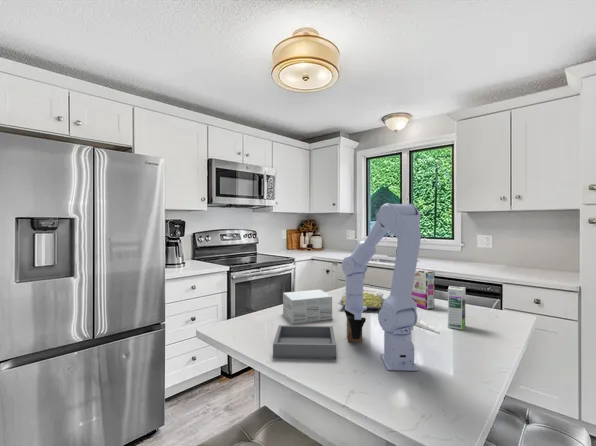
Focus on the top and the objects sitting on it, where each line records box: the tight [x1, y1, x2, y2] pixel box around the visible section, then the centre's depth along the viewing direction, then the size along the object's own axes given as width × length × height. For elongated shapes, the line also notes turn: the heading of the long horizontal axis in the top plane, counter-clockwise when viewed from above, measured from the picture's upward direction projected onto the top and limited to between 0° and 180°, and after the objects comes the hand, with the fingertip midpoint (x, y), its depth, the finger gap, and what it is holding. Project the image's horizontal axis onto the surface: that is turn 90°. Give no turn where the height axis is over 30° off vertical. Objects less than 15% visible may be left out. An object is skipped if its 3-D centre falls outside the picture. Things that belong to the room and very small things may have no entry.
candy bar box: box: [411, 267, 436, 310], centre depth 147 cm, size 11×5×16 cm, turn 25°
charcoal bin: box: [272, 324, 337, 360], centre depth 102 cm, size 16×18×4 cm
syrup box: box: [447, 285, 466, 331], centre depth 120 cm, size 6×6×14 cm
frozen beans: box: [336, 289, 384, 310], centre depth 150 cm, size 21×6×25 cm
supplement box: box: [282, 288, 333, 325], centre depth 132 cm, size 17×13×9 cm
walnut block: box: [346, 316, 363, 343], centre depth 108 cm, size 4×4×7 cm
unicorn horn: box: [414, 318, 441, 334], centre depth 123 cm, size 5×24×5 cm, turn 24°
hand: (354, 334), depth 108 cm, fingers open, 7 cm apart
